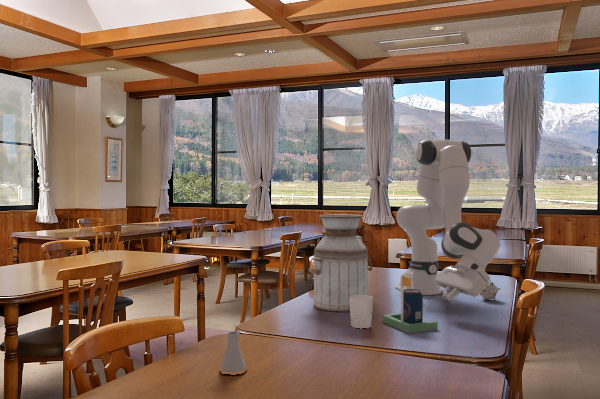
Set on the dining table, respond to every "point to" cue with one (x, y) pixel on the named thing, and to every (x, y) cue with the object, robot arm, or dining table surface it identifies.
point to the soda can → (412, 306)
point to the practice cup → (397, 319)
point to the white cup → (361, 310)
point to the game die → (489, 291)
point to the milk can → (339, 264)
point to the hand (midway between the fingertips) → (446, 298)
